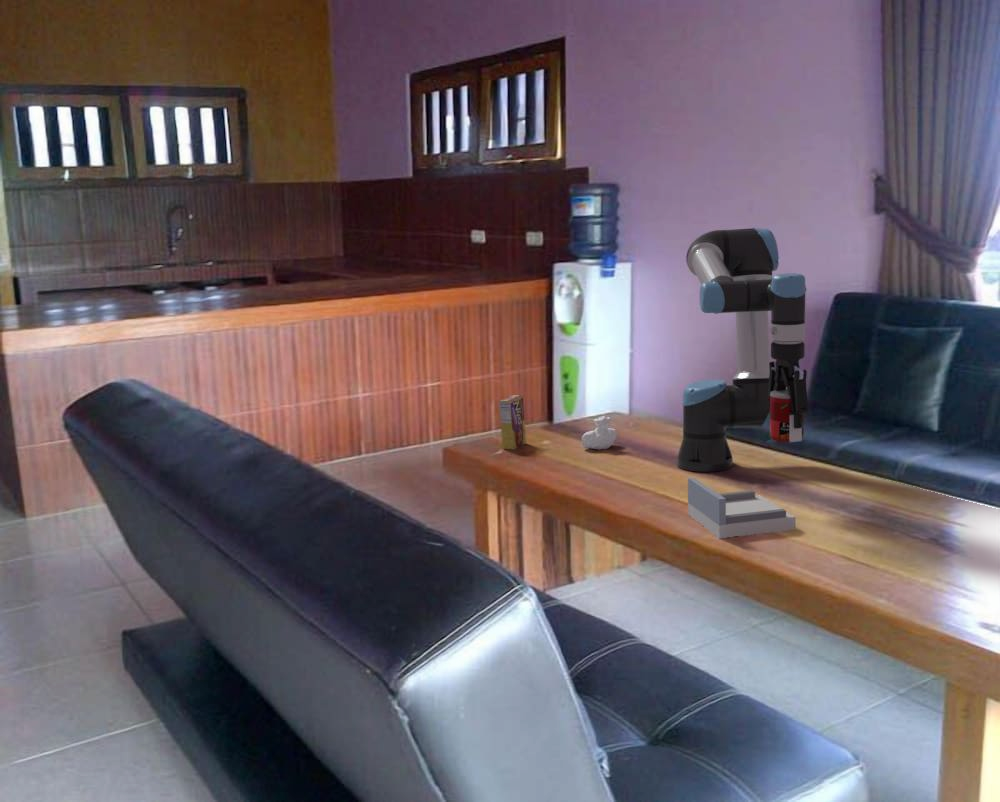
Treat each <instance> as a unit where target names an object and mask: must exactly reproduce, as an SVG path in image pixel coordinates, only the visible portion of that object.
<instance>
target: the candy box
mask: <svg viewBox="0 0 1000 802" xmlns="http://www.w3.org/2000/svg"><path fill="white" fill-rule="evenodd" d="M498 403H499V416H500V430H501V431H500V432H501V445H502V449H503V450H510V449H511V451H513V450H516V449H517V448H518V449H519V447H521V446H523V445H525V444H527V434H526V419H525V407H524V395H518V394H517V395H513V394H512V395H510V396H507V397H505V398H503V399H501V400H499V402H498Z"/></svg>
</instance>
